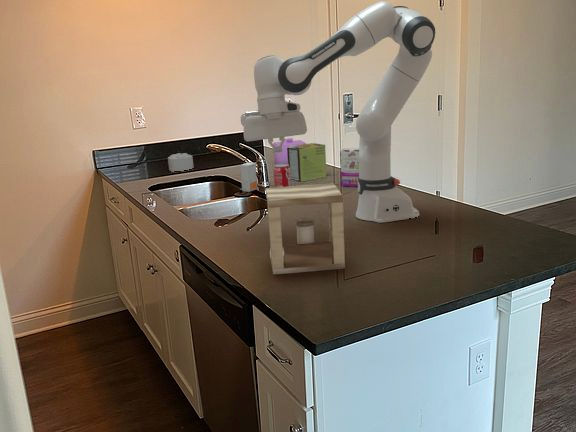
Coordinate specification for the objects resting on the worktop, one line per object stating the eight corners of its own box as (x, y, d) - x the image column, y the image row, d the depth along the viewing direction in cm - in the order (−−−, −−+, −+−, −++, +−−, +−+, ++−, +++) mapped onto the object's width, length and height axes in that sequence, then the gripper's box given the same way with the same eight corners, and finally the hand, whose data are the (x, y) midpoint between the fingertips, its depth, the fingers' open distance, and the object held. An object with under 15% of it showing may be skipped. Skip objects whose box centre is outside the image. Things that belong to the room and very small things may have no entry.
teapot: (298, 158, 331) (297, 134, 327) (310, 166, 307) (308, 140, 303) (272, 161, 327) (270, 136, 324) (281, 169, 304) (280, 142, 300)
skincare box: (249, 192, 258) (247, 165, 255) (242, 191, 261) (239, 164, 257) (257, 189, 263) (255, 162, 260) (250, 188, 266) (248, 162, 262)
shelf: (269, 254, 178) (265, 186, 172) (335, 248, 179) (332, 181, 173) (273, 274, 161) (268, 200, 156) (344, 268, 163) (342, 195, 157)
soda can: (290, 197, 245) (288, 166, 242) (273, 197, 247) (271, 166, 243) (293, 193, 252) (291, 163, 249) (277, 193, 254) (275, 163, 250)
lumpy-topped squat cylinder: (168, 169, 322) (166, 153, 320) (192, 166, 326) (190, 151, 324) (171, 172, 313) (169, 156, 310) (195, 169, 316) (193, 154, 314)
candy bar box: (368, 185, 258) (367, 148, 254) (365, 187, 254) (364, 150, 250) (344, 184, 263) (342, 147, 258) (340, 186, 258) (339, 149, 254)
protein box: (327, 176, 280) (325, 144, 276) (300, 182, 272) (299, 149, 268) (314, 173, 289) (312, 142, 284) (288, 179, 280) (286, 146, 276)
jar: (314, 255, 170) (312, 217, 167) (316, 261, 165) (314, 222, 162) (296, 256, 170) (294, 218, 167) (298, 262, 165) (296, 223, 162)
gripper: (240, 111, 182) (246, 156, 183) (304, 104, 185) (310, 147, 186) (239, 113, 188) (244, 156, 189) (301, 106, 191) (306, 148, 192)
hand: (277, 152), depth 188 cm, fingers closed
